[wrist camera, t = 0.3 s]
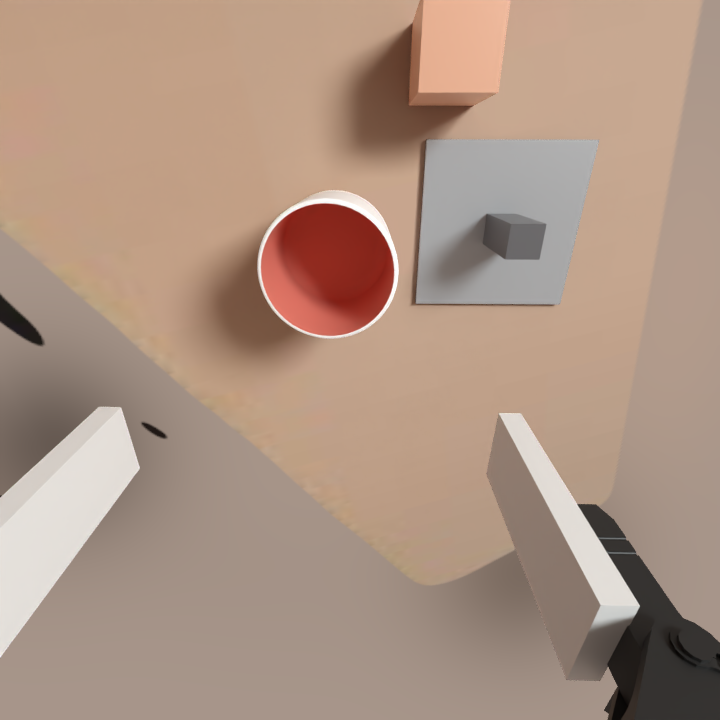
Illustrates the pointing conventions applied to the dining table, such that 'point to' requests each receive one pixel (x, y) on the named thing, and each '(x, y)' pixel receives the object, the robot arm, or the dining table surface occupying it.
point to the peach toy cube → (457, 51)
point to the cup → (328, 265)
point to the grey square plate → (500, 219)
